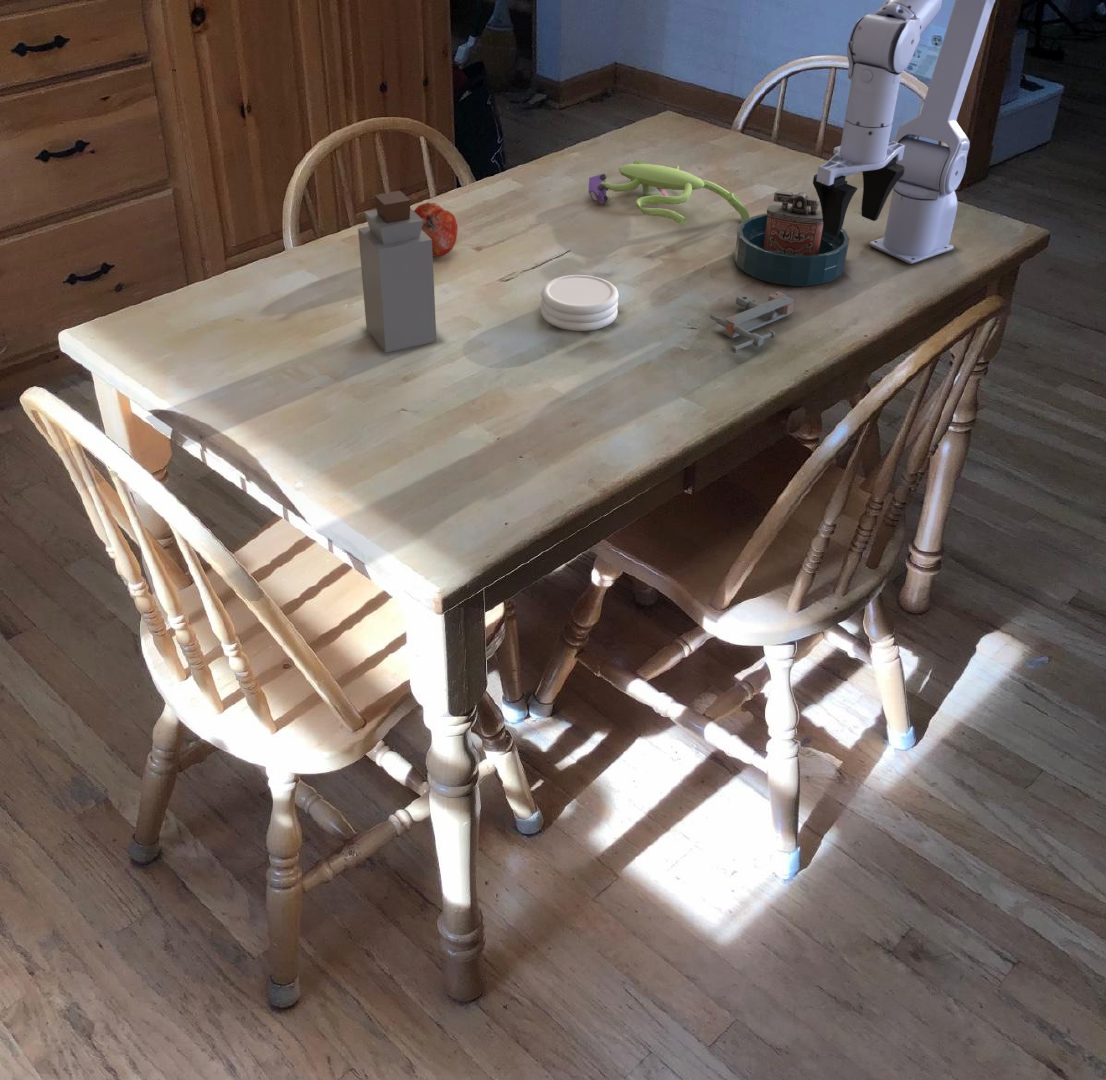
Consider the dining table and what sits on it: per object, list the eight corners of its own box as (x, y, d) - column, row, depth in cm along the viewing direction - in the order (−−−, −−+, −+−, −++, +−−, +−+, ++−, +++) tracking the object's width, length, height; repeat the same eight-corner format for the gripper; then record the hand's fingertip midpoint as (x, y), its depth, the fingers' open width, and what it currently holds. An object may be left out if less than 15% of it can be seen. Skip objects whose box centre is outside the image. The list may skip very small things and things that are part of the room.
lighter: (819, 261, 173) (830, 193, 167) (815, 271, 170) (826, 202, 164) (763, 252, 175) (772, 185, 169) (758, 262, 172) (767, 193, 166)
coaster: (529, 324, 157) (529, 299, 155) (556, 292, 164) (556, 268, 162) (603, 338, 154) (604, 313, 152) (627, 305, 162) (628, 280, 159)
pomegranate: (408, 258, 177) (390, 241, 167) (420, 209, 177) (403, 189, 167) (456, 270, 176) (442, 253, 166) (469, 220, 176) (455, 201, 166)
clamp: (762, 282, 163) (819, 309, 157) (760, 297, 164) (816, 325, 158) (680, 314, 155) (737, 344, 149) (679, 329, 156) (735, 360, 150)
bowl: (789, 233, 181) (793, 204, 178) (866, 270, 171) (871, 240, 169) (712, 257, 174) (715, 227, 171) (788, 297, 164) (792, 266, 161)
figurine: (657, 252, 175) (660, 214, 172) (565, 188, 193) (566, 153, 190) (761, 228, 182) (765, 192, 179) (663, 169, 201) (666, 135, 197)
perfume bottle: (386, 352, 150) (375, 212, 139) (366, 329, 155) (355, 192, 144) (436, 341, 153) (430, 203, 142) (415, 318, 158) (408, 183, 147)
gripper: (880, 100, 156) (862, 202, 164) (804, 123, 149) (789, 229, 157) (925, 115, 152) (904, 219, 160) (850, 139, 144) (832, 247, 153)
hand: (850, 225), depth 158 cm, fingers open, 7 cm apart
